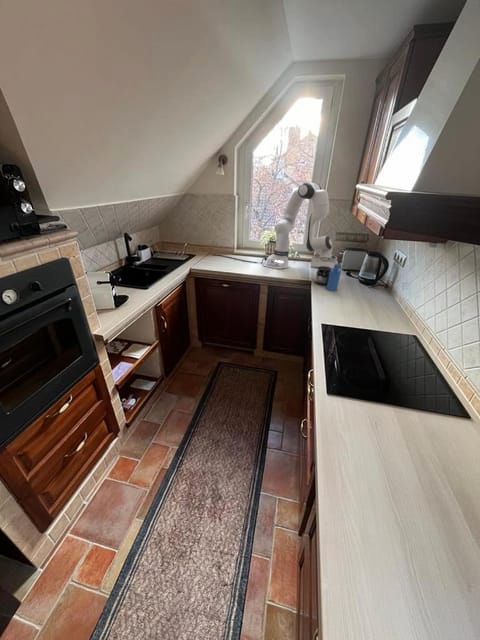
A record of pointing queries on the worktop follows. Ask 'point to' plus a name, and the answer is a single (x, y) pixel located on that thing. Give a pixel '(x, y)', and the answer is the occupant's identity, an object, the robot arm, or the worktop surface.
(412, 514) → the worktop surface
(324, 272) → the supplement container
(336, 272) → the blue bottle
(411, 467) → the worktop surface
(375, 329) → the worktop surface
